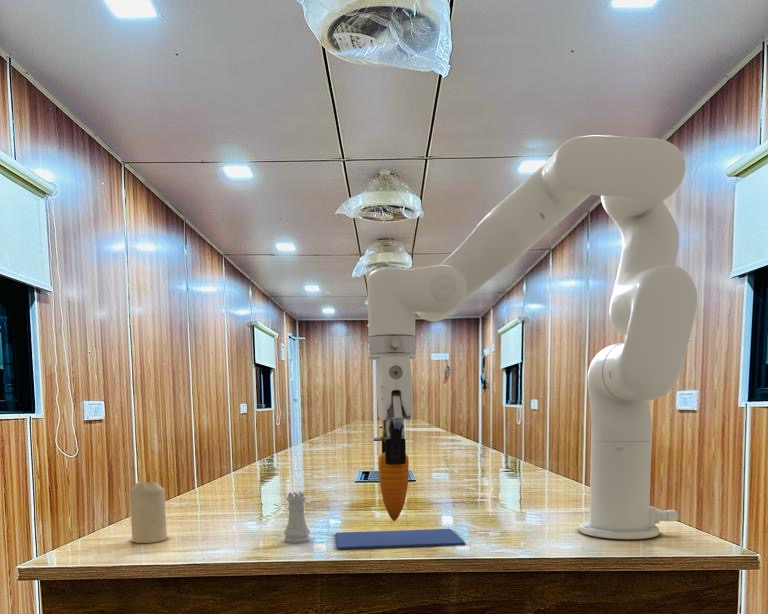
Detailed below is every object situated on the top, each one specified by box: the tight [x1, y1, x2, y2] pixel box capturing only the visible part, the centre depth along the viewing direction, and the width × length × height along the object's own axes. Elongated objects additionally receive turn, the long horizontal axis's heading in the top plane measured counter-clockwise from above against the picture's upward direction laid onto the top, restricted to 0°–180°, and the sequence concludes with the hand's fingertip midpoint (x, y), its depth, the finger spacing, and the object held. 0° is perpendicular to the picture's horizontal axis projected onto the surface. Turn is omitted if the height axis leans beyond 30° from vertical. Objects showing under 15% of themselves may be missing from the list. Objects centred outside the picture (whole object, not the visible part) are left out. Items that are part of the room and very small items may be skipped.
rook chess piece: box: [283, 491, 312, 544], centre depth 108 cm, size 4×4×8 cm
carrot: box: [378, 429, 410, 522], centre depth 107 cm, size 5×5×15 cm
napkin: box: [335, 528, 466, 551], centre depth 108 cm, size 20×12×1 cm, turn 96°
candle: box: [129, 480, 168, 544], centre depth 111 cm, size 6×6×10 cm
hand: (393, 461), depth 107 cm, fingers closed on carrot, 4 cm apart
